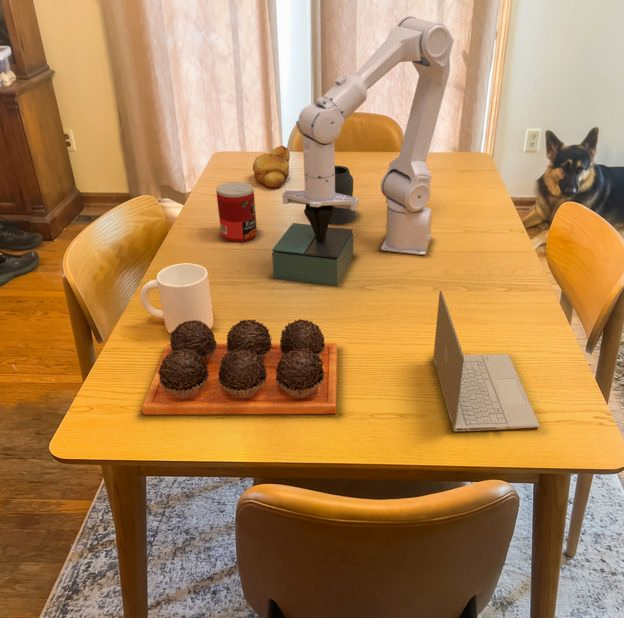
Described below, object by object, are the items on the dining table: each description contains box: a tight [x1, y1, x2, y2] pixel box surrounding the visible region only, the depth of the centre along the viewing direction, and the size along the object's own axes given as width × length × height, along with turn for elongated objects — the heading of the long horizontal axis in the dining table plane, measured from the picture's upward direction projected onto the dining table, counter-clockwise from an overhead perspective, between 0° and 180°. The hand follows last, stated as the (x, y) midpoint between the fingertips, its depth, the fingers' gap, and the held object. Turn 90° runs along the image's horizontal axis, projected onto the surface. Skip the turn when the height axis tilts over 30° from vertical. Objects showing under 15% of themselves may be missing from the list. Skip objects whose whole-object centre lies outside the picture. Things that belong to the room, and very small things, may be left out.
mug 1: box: [139, 262, 214, 334], centre depth 115 cm, size 12×8×10 cm
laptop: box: [433, 290, 541, 432], centre depth 99 cm, size 18×12×13 cm
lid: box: [305, 226, 354, 258], centre depth 132 cm, size 6×13×1 cm, turn 166°
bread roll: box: [252, 145, 291, 188], centre depth 174 cm, size 13×10×8 cm
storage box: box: [271, 222, 354, 287], centre depth 135 cm, size 13×13×6 cm
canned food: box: [215, 181, 258, 243], centre depth 146 cm, size 8×8×11 cm
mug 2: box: [329, 165, 357, 225], centre depth 156 cm, size 12×9×11 cm
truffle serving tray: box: [141, 318, 338, 416], centre depth 102 cm, size 28×17×8 cm, turn 91°
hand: (321, 240), depth 133 cm, fingers closed, pressing on lid
